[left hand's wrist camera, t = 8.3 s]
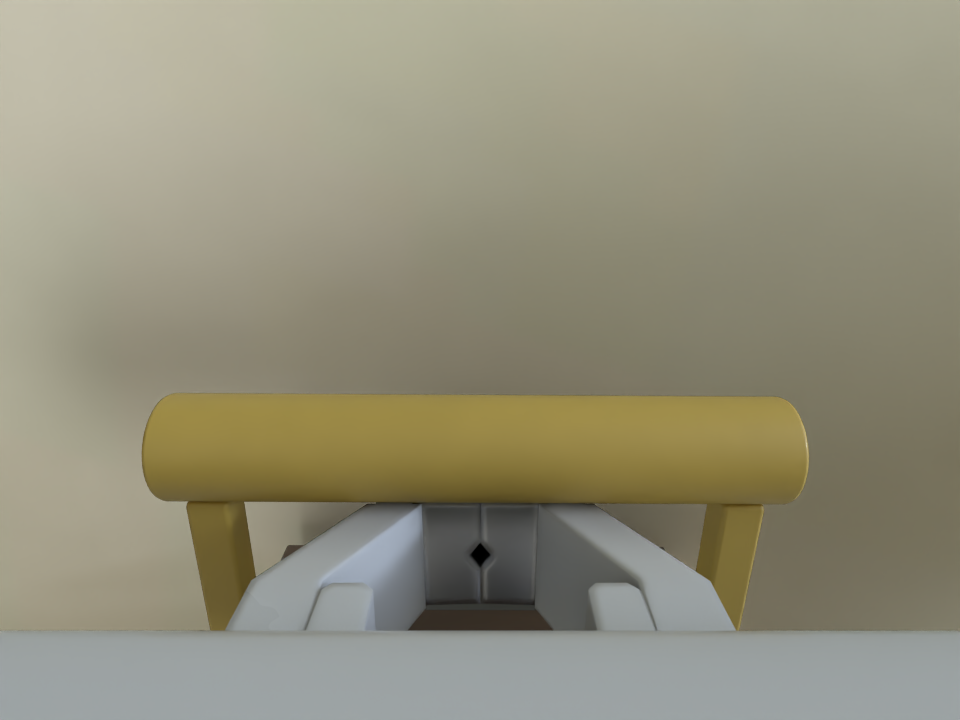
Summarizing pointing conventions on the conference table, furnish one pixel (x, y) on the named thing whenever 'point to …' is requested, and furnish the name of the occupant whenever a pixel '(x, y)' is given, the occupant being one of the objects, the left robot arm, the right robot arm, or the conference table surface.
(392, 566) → the left robot arm
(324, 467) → the drawer
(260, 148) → the conference table surface
